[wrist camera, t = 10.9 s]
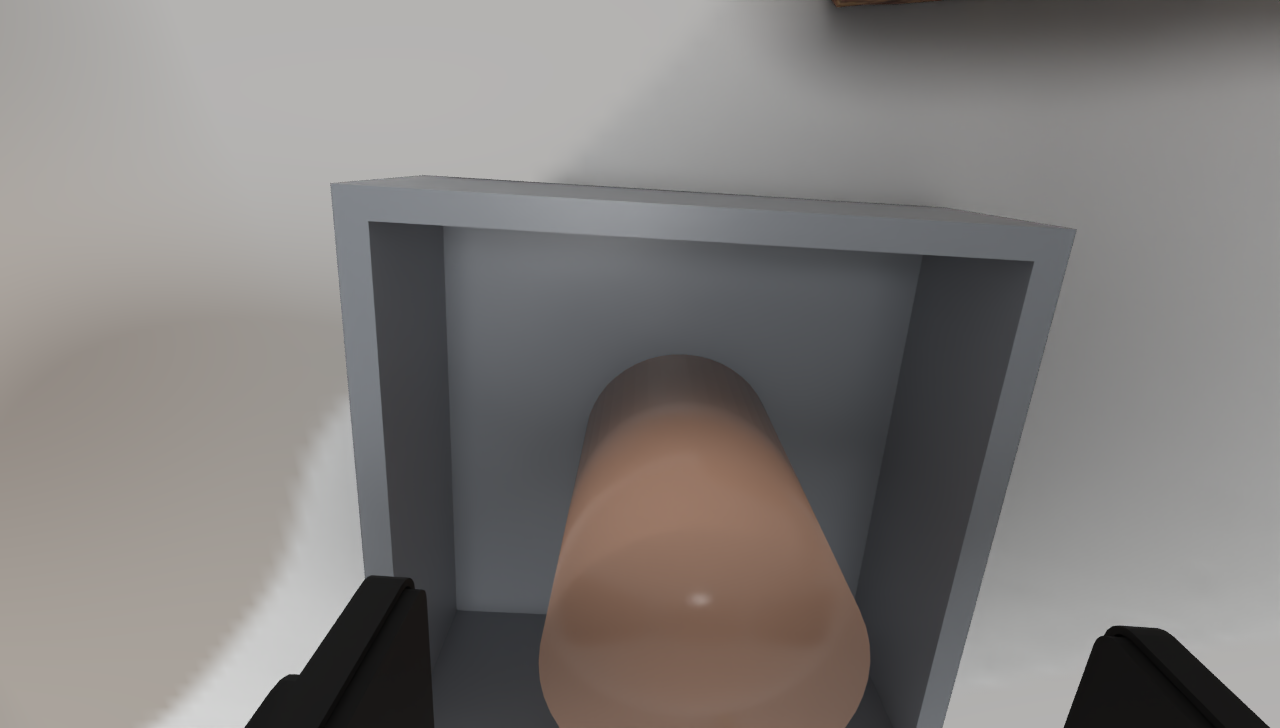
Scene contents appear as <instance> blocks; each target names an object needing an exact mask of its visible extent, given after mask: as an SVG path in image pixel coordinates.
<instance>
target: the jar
mask: <svg viewBox="0 0 1280 728" xmlns="http://www.w3.org/2000/svg"><path fill="white" fill-rule="evenodd" d="M869 668H870V643H869V638H868V634H867V629H866V625H865V623H864V620H863V618H862V615H861V612H860V610H859V608H858V606H857V603H856V601H855V599H854V597H853V595H852V593H851V591H850V589H849V586H848V584H847V582H846V580H845V578H844V576H843V574H842V572H841V569H840V567H839V565H838V563H837V561H836V559H835V557H834V555H833V552H832V550H831V548H830V546H829V544H828V542H827V540H826V538H825V535H824V533H823V531H822V529H821V527H820V525H819V523H818V520H817V518H816V516H815V514H814V512H813V510H812V508H811V506H810V503H809V501H808V499H807V497H806V495H805V493H804V491H803V489H802V486H801V484H800V482H799V480H798V478H797V476H796V474H795V472H794V469H793V467H792V465H791V463H790V461H789V459H788V457H787V455H786V452H785V450H784V448H783V446H782V444H781V442H780V440H779V438H778V435H777V433H776V431H775V429H774V427H773V425H772V423H771V421H770V418H769V416H768V414H767V412H766V410H765V408H764V406H763V404H762V402H761V400H760V398H759V397H758V395H757V393H756V392H755V391H754V389H753V388H752V387H751V386H750V384H749V383H748V382H747V381H745V380H744V379H743V378H742V377H741V376H740V375H739V374H737V373H736V372H735V371H733V370H732V369H730V368H728V367H726V366H725V365H723V364H721V363H718V362H716V361H713V360H711V359H707V358H703V357H699V356H693V355H666V356H659V357H655V358H651V359H648V360H645V361H643V362H640V363H638V364H635V365H634V366H632V367H630V368H628V369H626V370H625V371H623V372H622V373H621V374H619V375H618V376H617V377H615V378H614V379H613V380H612V381H611V382H610V383H609V384H608V385H607V386H606V387H605V389H604V390H603V391H602V393H601V394H600V395H599V397H598V399H597V400H596V402H595V404H594V406H593V408H592V410H591V413H590V415H589V419H588V423H587V427H586V432H585V437H584V441H583V446H582V451H581V456H580V460H579V465H578V470H577V474H576V479H575V484H574V488H573V493H572V498H571V502H570V507H569V512H568V517H567V521H566V526H565V531H564V535H563V540H562V545H561V549H560V554H559V559H558V564H557V568H556V573H555V578H554V582H553V587H552V592H551V596H550V601H549V606H548V610H547V615H546V620H545V625H544V629H543V634H542V639H541V643H540V652H539V676H540V683H541V687H542V691H543V695H544V698H545V701H546V703H547V705H548V708H549V710H550V713H551V714H552V716H553V718H554V719H555V721H556V723H557V724H558V726H559V728H845V727H846V726H847V724H848V723H849V721H850V720H851V718H852V717H853V715H854V714H855V712H856V710H857V708H858V706H859V704H860V702H861V699H862V697H863V695H864V691H865V688H866V685H867V681H868V676H869Z"/></svg>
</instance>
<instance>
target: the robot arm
mask: <svg viewBox="0 0 1280 728" xmlns="http://www.w3.org/2000/svg"><path fill="white" fill-rule="evenodd" d="M245 728H434V712H433V695H432V677H431V660H430V643H429V626H428V609H427V596H426V592H425V590H422V589H415V585H414V582H413V580H412V579H411V578H407V577H392V576H378V575H370V576H368V577H367V578H366V579H365V580H364V581H363V583H362V584H361V586H360V587H359V589H358V590H357V591H356V593H355V594H354V596H353V597H352V599H351V600H350V602H349V603H348V605H347V606H346V608H345V609H344V611H343V612H342V613H341V615H340V616H339V618H338V619H337V621H336V622H335V624H334V625H333V627H332V628H331V630H330V631H329V633H328V634H327V635H326V637H325V638H324V640H323V641H322V643H321V644H320V646H319V647H318V649H317V650H316V652H315V653H314V655H313V656H312V657H311V659H310V660H309V662H308V663H307V665H306V666H305V668H304V669H303V671H302V672H301V674H300V675H296V674H289V675H287V676H286V677H284V678H282V679H281V680H280V681H279V682H278V683H277V684H276V685H275V687H274V688H273V689H272V690H271V691H270V693H269V694H268V695H267V697H266V698H265V700H264V701H263V702H262V704H261V705H260V707H259V708H258V709H257V711H256V712H255V714H254V715H253V716H252V718H251V719H250V721H249V722H248V723H247V725H246V726H245ZM1064 728H1270V727H1269V726H1267V725H1266V724H1265V723H1264V722H1263V721H1262V720H1261V719H1260V718H1259V717H1258V716H1257V715H1256V714H1255V713H1254V712H1253V711H1252V710H1250V708H1248V707H1247V706H1246V705H1245V704H1244V703H1243V702H1242V701H1241V700H1240V699H1239V698H1238V697H1237V696H1236V695H1235V694H1234V693H1233V692H1232V691H1230V690H1229V689H1228V688H1227V687H1226V686H1225V685H1224V684H1223V683H1222V682H1221V681H1220V680H1219V679H1218V678H1217V677H1216V676H1214V674H1212V673H1211V672H1210V671H1209V670H1208V669H1207V668H1206V667H1205V666H1204V665H1203V664H1202V663H1201V662H1200V661H1199V660H1198V659H1197V658H1196V657H1195V656H1193V655H1192V654H1191V653H1190V652H1189V651H1188V650H1187V649H1186V648H1185V647H1184V646H1183V645H1182V644H1181V643H1180V642H1179V641H1178V640H1177V639H1175V638H1174V637H1173V636H1172V635H1171V634H1169V633H1168V632H1166V631H1164V630H1161V629H1158V628H1147V627H1132V626H1112V627H1111V628H1109V629H1108V630H1107V631H1106V633H1105V635H1104V636H1100V637H1099V638H1098V639H1097V640H1096V641H1095V643H1094V645H1093V648H1092V651H1091V654H1090V656H1089V659H1088V662H1087V665H1086V667H1085V670H1084V673H1083V676H1082V679H1081V681H1080V684H1079V687H1078V690H1077V692H1076V695H1075V698H1074V701H1073V703H1072V706H1071V709H1070V712H1069V714H1068V717H1067V720H1066V723H1065V725H1064Z"/></svg>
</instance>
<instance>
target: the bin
mask: <svg viewBox="0 0 1280 728" xmlns="http://www.w3.org/2000/svg"><path fill="white" fill-rule="evenodd" d="M331 196H332V207H333V219H334V230H335V240H336V253H337V264H338V275H339V287H340V298H341V309H342V319H343V320H342V321H343V331H344V344H345V354H346V366H347V378H348V389H349V400H350V412H351V423H352V434H353V446H354V457H355V469H356V480H357V491H358V503H359V514H360V525H361V537H362V548H363V559H364V571H365V579H366V578H367V577H368V576H370V575H378V576H392V577H407V578H411V579H412V580H413V582H414V585H415V589H422V590H425V592H426V596H427V609H428V626H429V643H430V660H431V677H432V695H433V712H434V728H559V726H558V724H557V723H556V721H555V719H554V718H553V716H552V714H551V713H550V710H549V708H548V705H547V703H546V701H545V698H544V695H543V691H542V687H541V683H540V676H539V652H540V643H541V639H542V634H543V629H544V625H545V620H546V615H547V610H548V606H549V601H550V596H551V592H552V587H553V582H554V578H555V573H556V568H557V564H558V559H559V554H560V549H561V545H562V540H563V535H564V531H565V526H566V521H567V517H568V512H569V507H570V502H571V498H572V493H573V488H574V484H575V479H576V474H577V470H578V465H579V460H580V456H581V451H582V446H583V441H584V437H585V432H586V427H587V423H588V419H589V415H590V413H591V410H592V408H593V406H594V404H595V402H596V400H597V399H598V397H599V395H600V394H601V393H602V391H603V390H604V389H605V387H606V386H607V385H608V384H609V383H610V382H611V381H612V380H613V379H614V378H615V377H617V376H618V375H619V374H621V373H622V372H623V371H625V370H626V369H628V368H630V367H632V366H634V365H635V364H638V363H640V362H643V361H645V360H648V359H651V358H655V357H659V356H666V355H693V356H699V357H703V358H707V359H711V360H713V361H716V362H718V363H721V364H723V365H725V366H726V367H728V368H730V369H732V370H733V371H735V372H736V373H737V374H739V375H740V376H741V377H742V378H743V379H744V380H745V381H747V382H748V383H749V384H750V386H751V387H752V388H753V389H754V391H755V392H756V393H757V395H758V397H759V398H760V400H761V402H762V404H763V406H764V408H765V410H766V412H767V414H768V416H769V418H770V421H771V423H772V425H773V427H774V429H775V431H776V433H777V435H778V438H779V440H780V442H781V444H782V446H783V448H784V450H785V452H786V455H787V457H788V459H789V461H790V463H791V465H792V467H793V469H794V472H795V474H796V476H797V478H798V480H799V482H800V484H801V486H802V489H803V491H804V493H805V495H806V497H807V499H808V501H809V503H810V506H811V508H812V510H813V512H814V514H815V516H816V518H817V520H818V523H819V525H820V527H821V529H822V531H823V533H824V535H825V538H826V540H827V542H828V544H829V546H830V548H831V550H832V552H833V555H834V557H835V559H836V561H837V563H838V565H839V567H840V569H841V572H842V574H843V576H844V578H845V580H846V582H847V584H848V586H849V589H850V591H851V593H852V595H853V597H854V599H855V601H856V603H857V606H858V608H859V610H860V612H861V615H862V618H863V620H864V623H865V625H866V629H867V634H868V638H869V643H870V668H869V676H868V681H867V685H866V688H865V691H864V695H863V697H862V699H861V702H860V704H859V706H858V708H857V710H856V712H855V714H854V715H853V717H852V718H851V720H850V721H849V723H848V724H847V726H846V727H845V728H942V727H943V723H944V720H945V716H946V712H947V708H948V705H949V701H950V697H951V694H952V690H953V686H954V682H955V679H956V675H957V671H958V668H959V664H960V660H961V656H962V653H963V649H964V645H965V642H966V638H967V634H968V631H969V627H970V623H971V619H972V616H973V612H974V608H975V605H976V601H977V597H978V593H979V590H980V586H981V582H982V579H983V575H984V571H985V567H986V564H987V560H988V556H989V553H990V549H991V545H992V541H993V538H994V534H995V530H996V527H997V523H998V519H999V516H1000V512H1001V508H1002V504H1003V501H1004V497H1005V493H1006V490H1007V486H1008V482H1009V478H1010V475H1011V471H1012V467H1013V464H1014V460H1015V456H1016V452H1017V449H1018V445H1019V441H1020V438H1021V434H1022V430H1023V426H1024V423H1025V419H1026V415H1027V412H1028V408H1029V404H1030V401H1031V397H1032V393H1033V389H1034V386H1035V382H1036V378H1037V375H1038V371H1039V367H1040V363H1041V360H1042V356H1043V352H1044V349H1045V345H1046V341H1047V337H1048V334H1049V330H1050V326H1051V323H1052V319H1053V315H1054V311H1055V308H1056V304H1057V300H1058V297H1059V293H1060V289H1061V285H1062V282H1063V278H1064V274H1065V271H1066V267H1067V263H1068V260H1069V256H1070V252H1071V248H1072V245H1073V241H1074V237H1075V234H1076V230H1077V229H1072V228H1065V227H1059V226H1053V225H1047V224H1041V223H1035V222H1029V221H1023V220H1017V219H1011V218H1005V217H999V216H993V215H986V214H980V213H974V212H968V211H962V210H956V209H950V208H942V207H926V206H910V205H894V204H877V203H861V202H845V201H829V200H813V199H797V198H781V197H765V196H749V195H733V194H717V193H701V192H684V191H668V190H652V189H636V188H620V187H604V186H588V185H572V184H556V183H540V182H524V181H507V180H491V179H475V178H459V177H443V176H426V175H422V176H410V177H398V178H387V179H375V180H364V181H352V182H340V183H331Z"/></svg>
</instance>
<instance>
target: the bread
mask: <svg viewBox="0 0 1280 728" xmlns="http://www.w3.org/2000/svg"><path fill="white" fill-rule="evenodd" d="M832 1H833V3H834V4H835V6H836V7H845V6H855V5H877V4H905V3H917V2H929V1H940V0H832Z"/></svg>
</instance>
